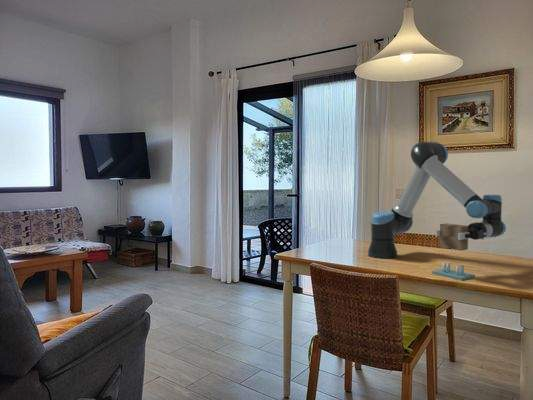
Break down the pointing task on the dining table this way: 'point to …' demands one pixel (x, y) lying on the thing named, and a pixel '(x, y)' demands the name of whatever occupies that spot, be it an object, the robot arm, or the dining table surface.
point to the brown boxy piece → (453, 236)
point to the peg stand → (453, 272)
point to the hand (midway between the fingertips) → (447, 235)
